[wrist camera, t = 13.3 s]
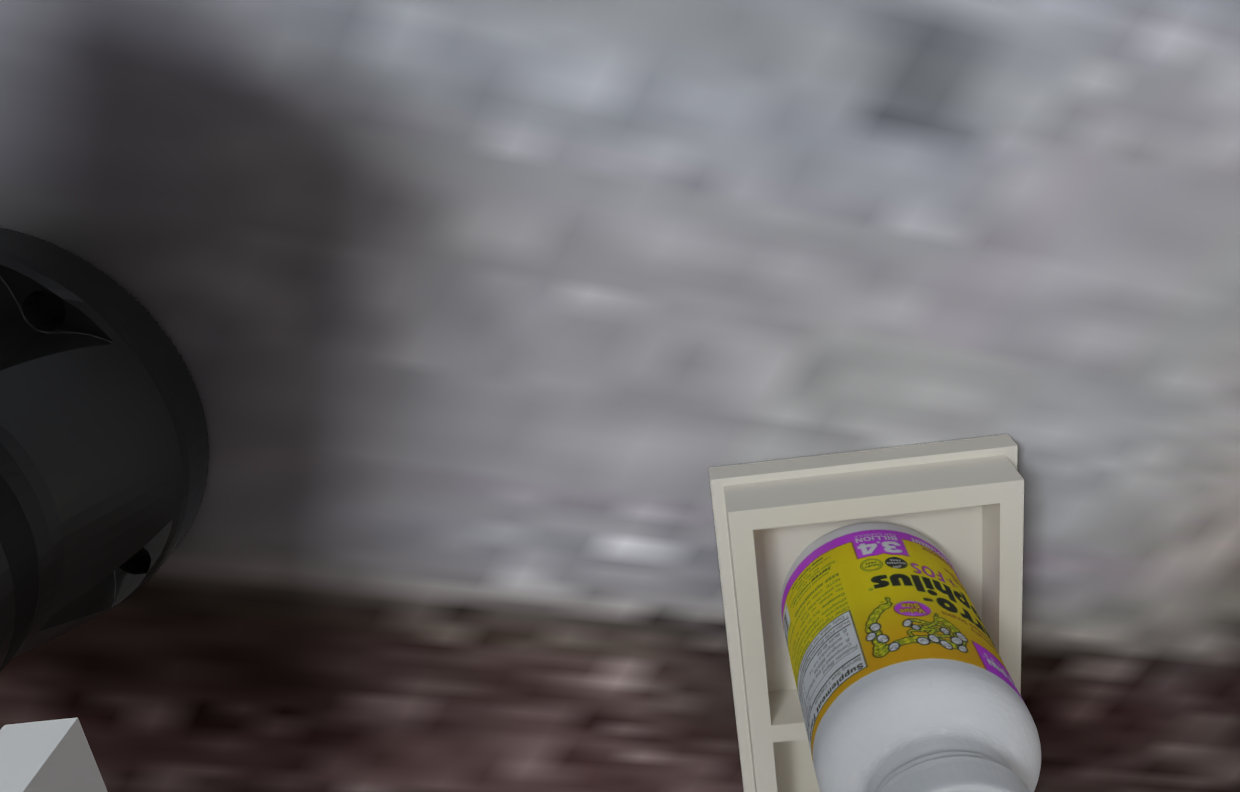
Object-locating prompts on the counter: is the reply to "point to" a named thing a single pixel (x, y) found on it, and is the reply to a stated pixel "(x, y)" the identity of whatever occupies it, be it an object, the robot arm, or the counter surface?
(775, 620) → the carrier
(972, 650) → the supplement bottle
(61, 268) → the robot arm
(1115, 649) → the counter surface
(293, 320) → the counter surface
